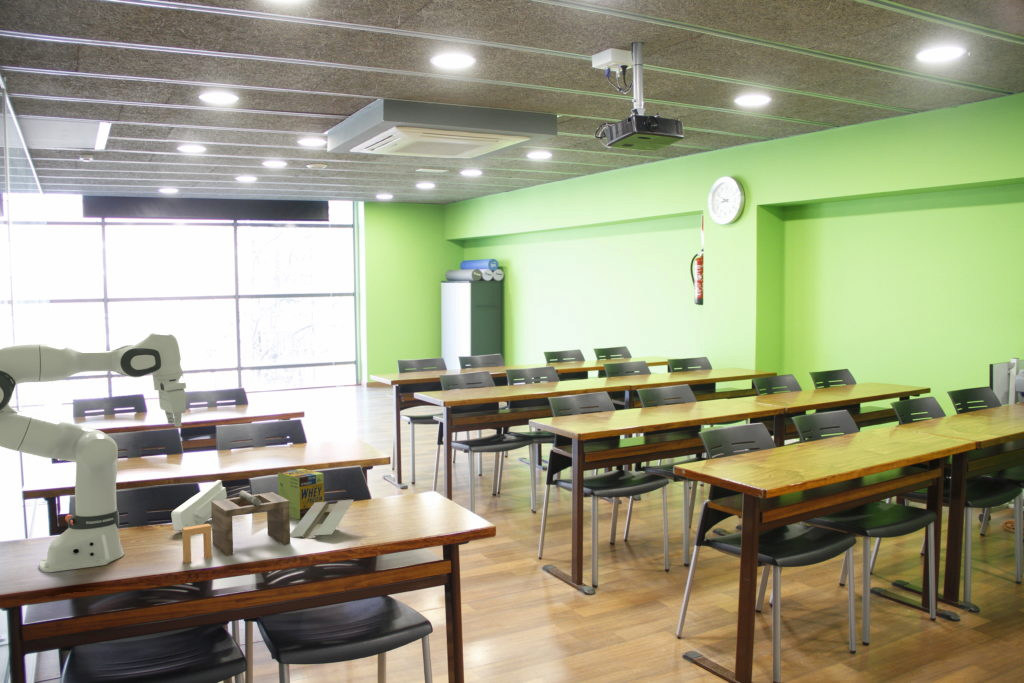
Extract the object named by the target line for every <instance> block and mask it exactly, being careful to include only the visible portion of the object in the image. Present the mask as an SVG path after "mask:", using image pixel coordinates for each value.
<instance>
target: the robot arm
mask: <svg viewBox="0 0 1024 683" xmlns="http://www.w3.org/2000/svg"><path fill="white" fill-rule="evenodd" d="M178 343H179V342H178V340H177V337H175V336H174V335H172V334H170V333H157V332H155V333H154V332H153V333H150V334H149V336H147V337H146V338H145V339H143V340H141V341H139V342H138V343H136V344H134V345H133V344H129V345H124V346H121V347H119V348H116V349H114V350H107V351H106V350H105V351H102V350H101V351H96V350H95V351H82V350H77V349H72V348H69V347H67V346H60V345H54V344H22V345H13V346H9V347H3V348H1V349H0V447H2V448H5V449H8V450H12V451H15V452H20V453H25V454H29V455H34V456H36V457H37V456H39V457H42V458H46V459H55V460H59V461H60V460H61V461H66V462H67V461H68V462H71V463H72V462H73V463H75V464H76V467H75V470H76V471H75V472H76V473H75V486H74V487H75V488H74V497H75V498H74V499H75V514H73V515H72V514H66V516H65V518H64V520H65V522H66V523H67V525H68V528H67V529H66V530H64V532H62V533H61V534H60V535H59V536H57V537H55V539H54V540H52V541H51V543H50V545H49V547H48V550H47V556H46V557H44V558H42V559H41V560H40V561H39V564H38V567H39V570H40V571H42V572H45V573H53V572H54V573H55V572H61V571H62V572H63V571H68V570H69V571H70V570H77V569H85V568H92V567H99V566H105V565H108V564H109V563H111V562H113V561H116V560H118V559H121V558H122V557H123V556H124V555H125V552H124V550H123V546H122V543H121V539H120V533H119V526H120V514H119V510H118V507H117V475H118V460H119V458H118V457H119V456H118V454H119V452H118V451H119V450H118V444H117V442H116V441H115V439H113V438H112V436H110V435H108V434H107V433H105V432H103V431H102V430H100V429H95V428H92V427H87V426H82V425H79V424H78V425H77V424H72V423H69V422H64V421H63V422H62V421H59V420H55V419H51V418H47V417H43V416H39V415H36V414H31V413H28V412H23V411H20V410H17V409H15V408H13V407H11V405H10V404H9V403H10V401H11V399H12V397H13V394H14V391H15V388H16V385H19V384H22V383H23V384H24V383H44V382H45V383H46V382H55V381H60V380H64V379H67V378H69V377H71V376H73V375H75V374H79V373H85V372H113V373H117V374H120V375H122V376H126V377H129V378H141V377H144V376H147V375H149V374H152V381H153V387H154V390H155V391H158V400H159V407H160V409H161V410H163V411H164V413H165V416H166V419H167V424H169V425H172V424H174V427H175V428H180V427H182V426H183V424H182V417H183V416H182V414H185V413H186V409H187V408H186V407H187V403H186V392H185V389H186V388H187V383H186V381H185V380H184V374H183V370H182V367H181V360H182V359H181V352H180V347H179V344H178Z"/></svg>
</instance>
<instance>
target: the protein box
mask: <svg viewBox="0 0 1024 683" xmlns="http://www.w3.org/2000/svg"><path fill="white" fill-rule="evenodd" d="M324 480H325V479H324V473H323V472H319V471H314V470H309V469H305V468H299V469H292V470H291V469H290V470H285V471H280V472H279V471H278V472H277V492H278V494H277V495H279V496H281V497H283V498H285V499H287V500H289V511H290V518H291V519H295V520H298V521H301V520H302V518H303V517H304V516H305V515H306V513H307V512H308V510H309V509H310V508H311V507H312V506H313V504H314V503H315V502H325V486H324V485H325V483H324Z"/></svg>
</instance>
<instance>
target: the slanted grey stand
mask: <svg viewBox="0 0 1024 683" xmlns="http://www.w3.org/2000/svg"><path fill="white" fill-rule="evenodd" d="M354 500H355V499H346V500H344V499H343V500H337V502H336V503H335V504H333V503H331V504H330V503H328V501H324V502H315V503H314V504H313V506H312V507H311V508H310V509H309V510H308V512H307V513H306V515H305V516H304V517H303V518H302V520H299V522H298V524H296V526H295V527H294V529H293V530H292V531H291V532H290V538H297V537H298V538H299V537H303V539H313V538H316V537H317V536H326V535H333V533H334V531H335V530H336V529H337V527H338V526H339V524H340V522H341V521H342V519H343V518H344V516H345V515H346V513H347V512H348V510H349V508H350V507H351V505H352V504H353V502H354Z"/></svg>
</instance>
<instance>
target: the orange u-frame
mask: <svg viewBox="0 0 1024 683" xmlns="http://www.w3.org/2000/svg"><path fill="white" fill-rule="evenodd" d="M181 532H182V534H181V535H182V537H181V538H182V561H183V563H185V564H189V563H192V544H191V541H192V540H191V537H192V536H196V535H198V536H199V535H202V536H203V557H204V558H205V559H206V560H210V559H212V558H213V547H212V545H213V544H212V524H209V523H204V524H203V525H197V526H191V527H185V528H182V531H181Z"/></svg>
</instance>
